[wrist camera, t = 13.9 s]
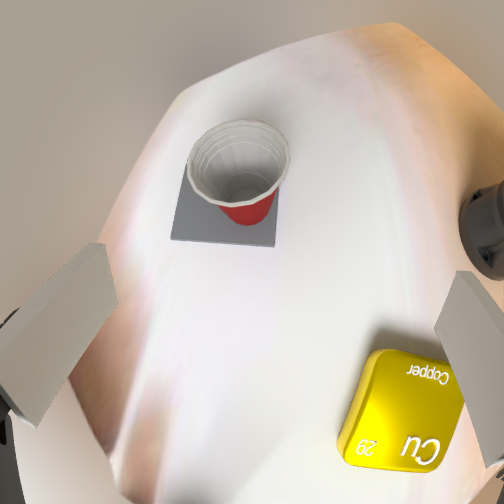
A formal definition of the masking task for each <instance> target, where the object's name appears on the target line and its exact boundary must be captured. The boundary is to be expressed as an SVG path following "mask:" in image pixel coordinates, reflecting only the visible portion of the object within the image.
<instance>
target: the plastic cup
mask: <svg viewBox="0 0 504 504" xmlns="http://www.w3.org/2000/svg"><path fill="white" fill-rule="evenodd" d="M289 162H290V155H289V150H288V145H287V142H286V141H285V140H284V138H283V137H282V136H281V134H280V133H279V132H278V131H277V130H276V129H275V128H273V127H271V126H269V125H267V124H265V123H263V122H261V121H254V120H247V119H240V120H235V121H229V122H224V123H222V124H220V125H218V126H216V127H214V128H212V129H210V130H209V131H207V132H206V133H205V134H204V135H203V136H202V137H201V138H200V139H199V140H198V141H197V142H196V143H195V144H194V146H193V148H192V150H191V153H190V155H189V157H188V159H187V177H188V179H189V181H190V183H191V185H192V187H193V189H194V191H195V192H196V193H197V194H199V195H200V196H201V197H203V198H204V199H205V200H207V201H208V202H210V203H213V204H217V206H218V207H219V208H220V209H221V210H222V211H223V212H224V213H226V214H227V216H228V217H229V218H230V219H231V220H233V221H234V222H235V223H237V224H240V225H244V226H249V225H255V224H257V223H259V222H261V221H262V220H263V219H264V218H265V217H266V215H267V214H268V212H269V209H270V207H271V205H272V202H273V199H274V196H275V193H276V190H277V189H278V186H279V185H280V183H281V182H282V181H283V180H284V179H285V176H286V173H287V169H288V166H289Z"/></svg>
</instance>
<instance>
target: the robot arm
mask: <svg viewBox="0 0 504 504" xmlns="http://www.w3.org/2000/svg"><path fill="white" fill-rule="evenodd" d="M459 229H460V235H461V240H462V243H463V246H464V248H465V251H466V253H467V255H468V257H469V259H470V260H471V262H472V263H473V265H474V266H475V267H476V268H477V269H478V270H479V271H480V272H481V273H482V274H483V275H485V276H486V277H488V278H490V279H492V280H497V281H501V280H504V181H502V182H501V183H499V184H496V185H492V186H489V187H485V188H482V189H479V190H477V191H475V192H474V193H473V194H472V195H471V196H469V197H468V198H467V199H466V200H465V202H464V203H463V205H462V208H461V211H460V216H459ZM118 303H119V302H118V298H117V294H116V290H115V286H114V282H113V278H112V274H111V269H110V265H109V260H108V255H107V251H106V246H105V244H99V243H89V244H88V245H86V246H85V247H84V248H83V249H82V250H81V251H80V252H79V253H77V254H76V255H75V256H74V257H73V258H72V259H70V260H69V261H68V262H67V263H66V264H65V265H64V266H63V267H62V268H61V269H59V270H58V271H57V272H56V273H55V274H54V275H53V276H52V277H51V278H50V279H49V280H48V281H47V282H46V283H45V284H44V285H42V286H41V287H40V288H39V289H38V290H37V291H36V293H34V294H33V295H32V296H31V297H30V298H29V299H28V300H27V301H26V302H25V303H24V304H23V305H22V306H21V307H20V308H18V309H17V310H15V311H13V312H12V313H11V314H10V315H9V316H8V318H7V319H6V320H5V321H4V324H3V323H2V324H1V325H0V504H26V503H25V499H24V495H23V491H22V487H21V482H20V477H19V472H18V466H17V460H16V453H15V446H14V438H13V429H12V421H11V417H10V416H9V415H8V412H9V411H10V409H12V411H13V412H14V413H15V414H16V415H17V416H18V418H19V419H20V420H22V421H23V422H25V423H27V424H29V425H31V426H32V427H34V428H37V426H38V425H39V423H40V421H41V419H42V418H43V416H44V414H45V413H46V411H47V409H48V408H49V406H50V404H51V403H52V401H53V399H54V398H55V396H56V395H57V393H58V391H59V390H60V388H61V387H62V385H63V384H64V382H65V380H66V379H67V377H68V376H69V374H70V373H71V371H72V370H73V368H74V367H75V365H76V364H77V362H78V361H79V359H80V358H81V356H82V355H83V353H84V352H85V350H86V349H87V347H88V346H89V344H90V343H91V341H92V340H93V338H94V337H95V336H96V334H97V333H98V331H99V330H100V328H101V327H102V326H103V324H104V323H105V321H106V320H107V319H108V317H109V316H110V314H111V313H112V312H113V310H114V309H115V308H116V306H117V305H118ZM434 330H435V332H436V334H437V336H438V338H439V340H440V342H441V345H442V347H443V349H444V351H445V354H446V356H447V358H448V360H449V363H450V365H451V368H452V370H453V372H454V375H455V377H456V380H457V382H458V385H459V387H460V390H461V392H462V395H463V398H464V400H465V403H466V406H467V409H468V412H469V414H470V417H471V420H472V423H473V426H474V429H475V432H476V436H477V439H478V442H479V445H480V449H481V452H482V456H483V459H484V463H485V467H486V468H489V467H492V466H495V465H497V464H500V463H503V462H504V313H503V312H502V310H501V309H500V308H499V306H498V305H497V304H496V302H495V301H494V300H493V298H492V297H491V296H490V294H489V293H488V292H487V290H486V289H485V288H484V286H483V285H482V284H481V283H480V281H479V280H478V279H477V278H476V276H475V275H474V274H473V273H472V272H469V271H457V272H456V275H455V277H454V280H453V283H452V285H451V288H450V291H449V293H448V296H447V298H446V301H445V303H444V306H443V308H442V311H441V313H440V315H439V318H438V320H437V322H436V324H435V327H434ZM503 474H504V468H503V469H502V470H501V471H500V472H499V473H498V474H497V476H496V478H499V477H501V476H502V475H503ZM501 480H503V481H504V477H503V478H502V479H501ZM496 504H504V485H503V488H502V491H501V493H500V496H499V498H498V501H497V503H496Z"/></svg>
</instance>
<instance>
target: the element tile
mask: <svg viewBox="0 0 504 504" xmlns="http://www.w3.org/2000/svg"><path fill="white" fill-rule="evenodd" d="M464 402H465V400H464V398H463V395H462V392H461V390H460V387H459V385H458V382H457V380H456V377H455V375H454V372H453V370H452V368H451V365H450V363H449V362H445V361H440V360H436V359H432V358H428V357H424V356H420V355H416V354H412V353H408V352H404V351H400V350H396V349H379V350H375V351H374V352H372V353H371V354H370V355H369V356H368V358H367V360H366V362H365V365H364V368H363V372H362V375H361V378H360V381H359V384H358V387H357V389H356V392H355V395H354V398H353V401H352V404H351V406H350V409H349V412H348V414H347V417H346V420H345V422H344V425H343V427H342V430H341V432H340V435H339V437H338V439H337V449H338V451H339V453H340V455H341V456H342V458H343V459H344V461H345V462H347V463H348V464H350V465H353V466H358V467H365V468H373V469H381V470H390V471H401V472H416V473H428V472H431V471H433V470H435V469H436V468H437V467H438V466H439V465H440V464H441V462H442V461H443V458H444V456H445V454H446V451H447V449H448V447H449V444H450V442H451V439H452V436H453V434H454V431H455V429H456V426H457V423H458V420H459V417H460V414H461V411H462V408H463V405H464Z"/></svg>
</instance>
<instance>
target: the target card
mask: <svg viewBox="0 0 504 504" xmlns="http://www.w3.org/2000/svg"><path fill="white" fill-rule="evenodd" d="M278 191H279V186H278V189H277V190H276V193H275V196H274V199H273V202H272V205H271V207H270V209H269V212H268V214H267V215H266V217H265V218H264V219H263V220H262V221H261V222H259V223H257V224H255V225H249V226H244V225H240V224H237V223H235V222H234V221H233V220H231V219H230V218H229V217H228V216H227V214H226V213H224V212H223V211H222V210H221V209H220V208H219V207H218V206H217V204H213V203H210V202H208V201H207V200H205V199H204V198H203V197H201V196H200V195H199V194H197V193H196V192H195V191H194V189H193V187H192V185H191V183H190V181H189V179H188V177H187V164H186V167H185V171H184V176H183V180H182V184H181V189H180V193H179V198H178V203H177V207H176V212H175V217H174V222H173V227H172V232H171V237H170V239H171V240H180V241H194V242H208V243H222V244H236V245H249V246H263V247H274V243H275V231H276V218H277V205H278Z"/></svg>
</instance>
